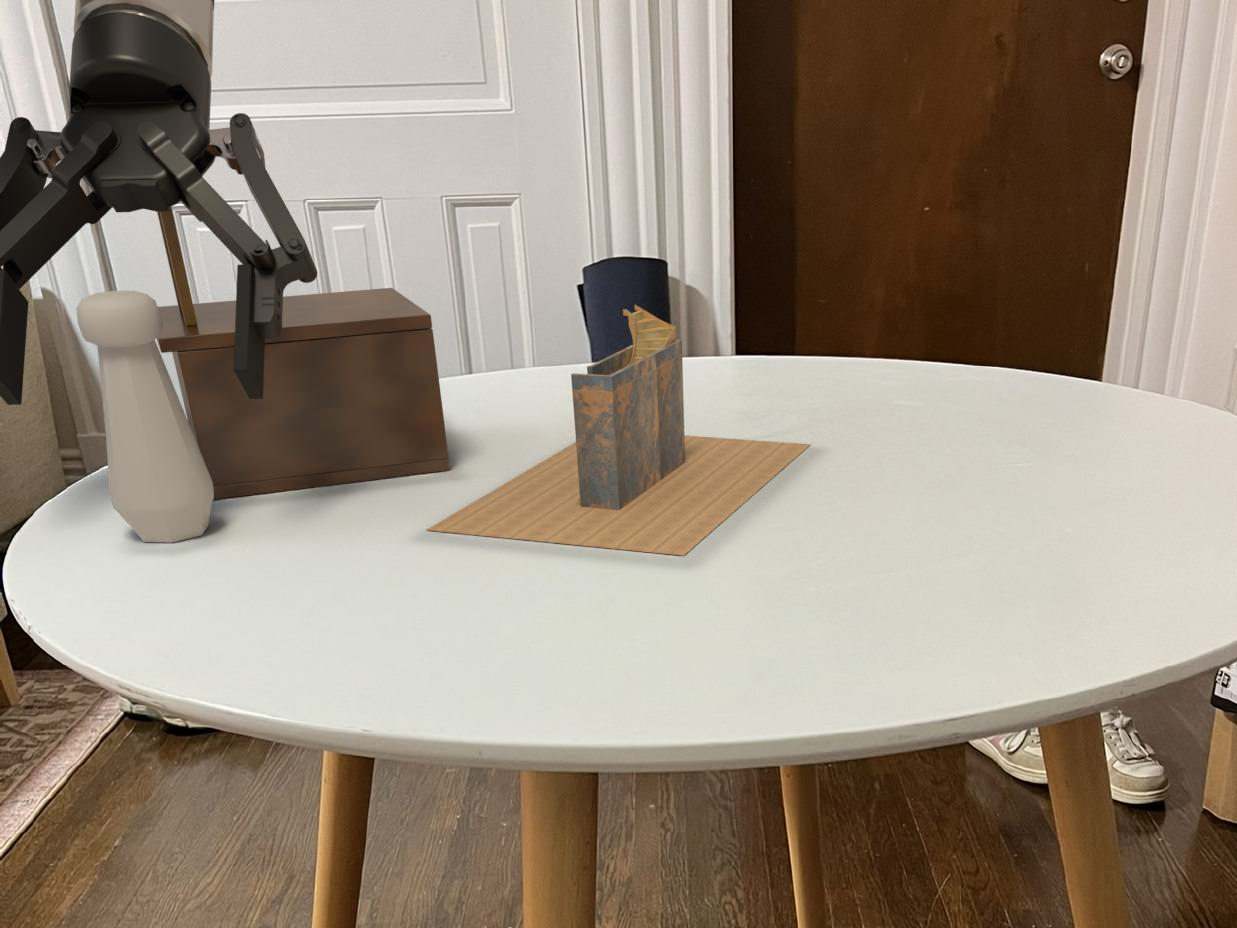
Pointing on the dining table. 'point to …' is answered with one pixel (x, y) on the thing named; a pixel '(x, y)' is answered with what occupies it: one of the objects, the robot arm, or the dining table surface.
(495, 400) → the dining table surface
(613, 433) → the architectural model on board
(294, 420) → the box
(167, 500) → the salt shaker
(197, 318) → the caddy lid
